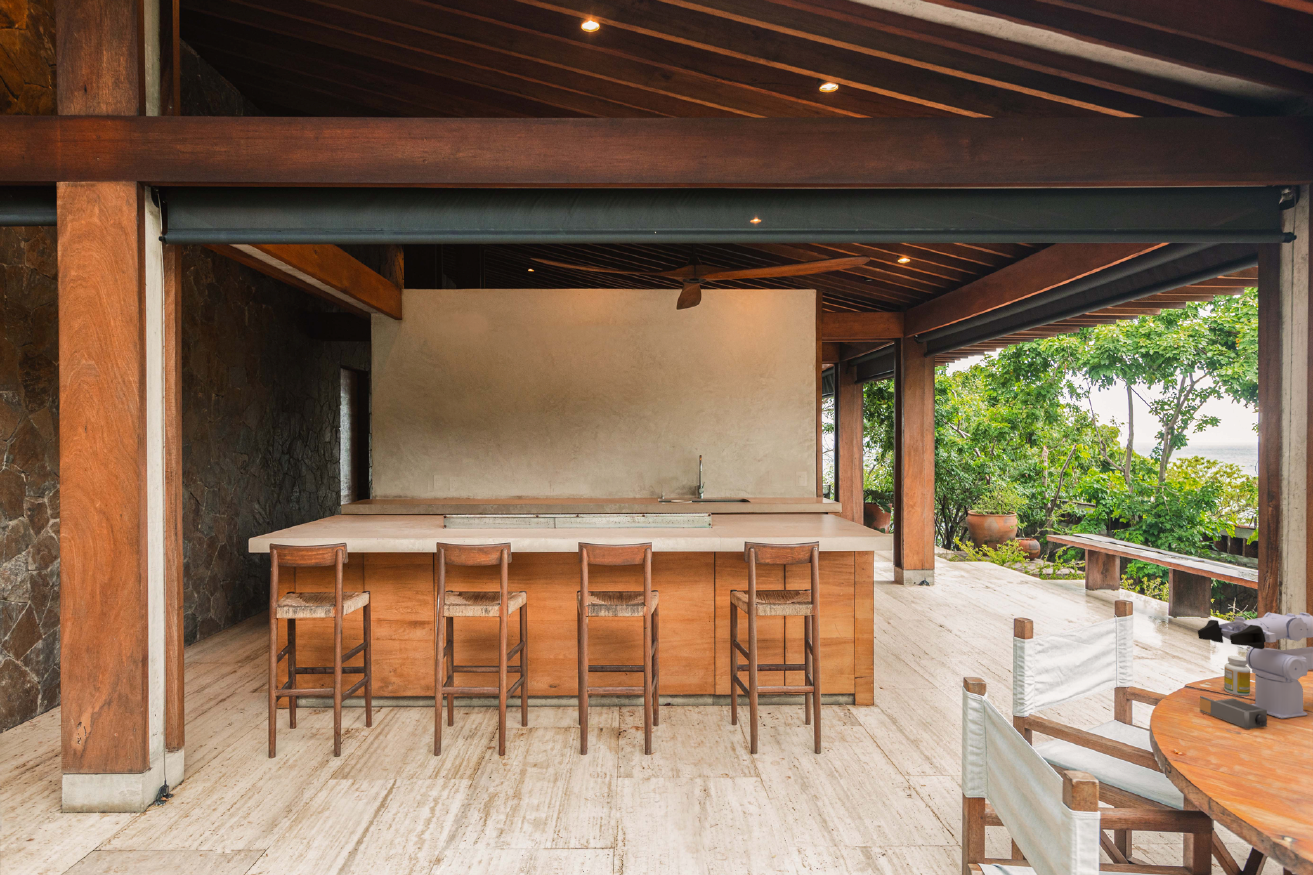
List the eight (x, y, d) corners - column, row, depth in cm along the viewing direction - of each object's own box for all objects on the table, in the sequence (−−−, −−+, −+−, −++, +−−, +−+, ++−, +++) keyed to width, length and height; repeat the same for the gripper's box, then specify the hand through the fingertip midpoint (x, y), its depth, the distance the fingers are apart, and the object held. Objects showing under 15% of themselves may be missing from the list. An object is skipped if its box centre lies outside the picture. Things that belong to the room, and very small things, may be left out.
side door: (1202, 710, 169) (1202, 695, 169) (1250, 728, 159) (1250, 712, 159) (1199, 710, 169) (1199, 695, 169) (1247, 729, 158) (1247, 713, 158)
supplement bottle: (1222, 691, 183) (1222, 657, 183) (1226, 687, 186) (1226, 653, 186) (1248, 697, 179) (1248, 662, 179) (1252, 693, 182) (1252, 658, 182)
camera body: (1232, 713, 168) (1233, 697, 168) (1270, 727, 160) (1270, 710, 160) (1215, 716, 166) (1215, 700, 166) (1252, 730, 158) (1252, 713, 158)
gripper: (1223, 611, 176) (1183, 617, 172) (1286, 618, 162) (1244, 625, 158) (1228, 638, 175) (1188, 644, 172) (1291, 648, 161) (1249, 655, 158)
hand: (1215, 637), depth 165 cm, fingers open, 7 cm apart
